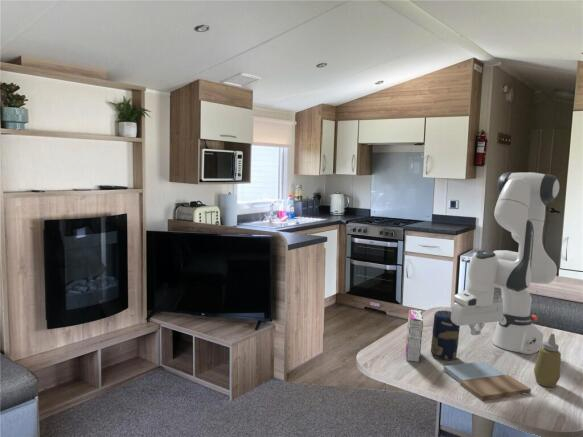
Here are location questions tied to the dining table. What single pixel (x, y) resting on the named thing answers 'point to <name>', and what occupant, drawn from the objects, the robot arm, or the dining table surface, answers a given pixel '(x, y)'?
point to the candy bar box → (414, 335)
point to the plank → (472, 371)
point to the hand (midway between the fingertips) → (475, 334)
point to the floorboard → (495, 387)
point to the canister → (444, 336)
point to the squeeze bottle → (548, 363)
